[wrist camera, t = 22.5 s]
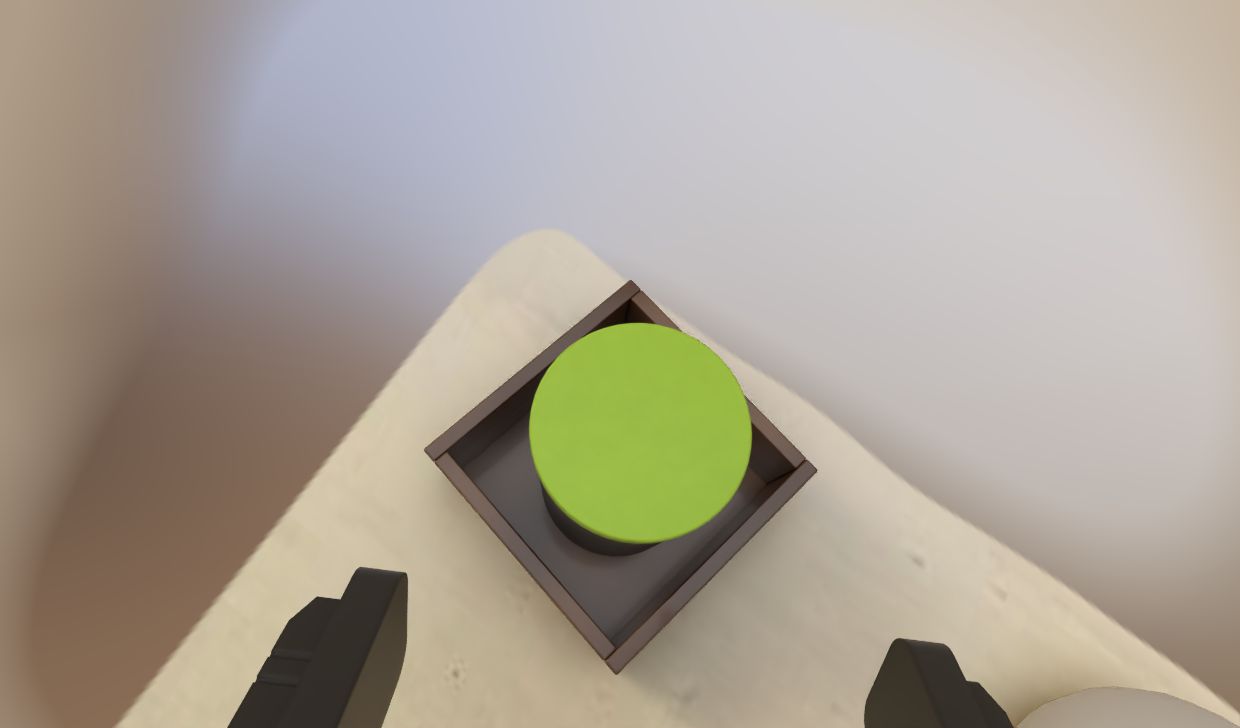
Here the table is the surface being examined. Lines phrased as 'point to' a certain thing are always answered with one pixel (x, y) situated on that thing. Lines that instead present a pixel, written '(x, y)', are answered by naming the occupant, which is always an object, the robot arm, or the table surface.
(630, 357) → the ball tube
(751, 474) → the bin
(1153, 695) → the toy character
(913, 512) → the table surface
